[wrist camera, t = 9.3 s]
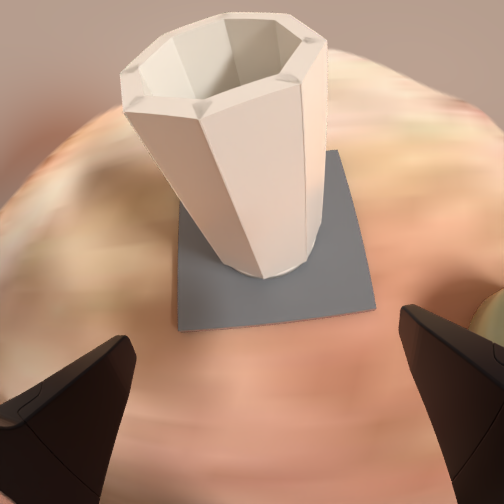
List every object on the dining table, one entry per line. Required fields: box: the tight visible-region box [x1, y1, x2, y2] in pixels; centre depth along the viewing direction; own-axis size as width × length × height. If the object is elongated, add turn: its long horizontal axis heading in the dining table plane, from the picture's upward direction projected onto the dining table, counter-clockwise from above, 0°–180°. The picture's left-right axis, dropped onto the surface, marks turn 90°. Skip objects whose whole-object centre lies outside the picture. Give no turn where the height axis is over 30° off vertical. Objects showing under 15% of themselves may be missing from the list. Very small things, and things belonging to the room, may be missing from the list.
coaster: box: [178, 150, 376, 332], centre depth 20 cm, size 12×12×1 cm
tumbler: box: [120, 12, 328, 279], centre depth 14 cm, size 6×6×13 cm
